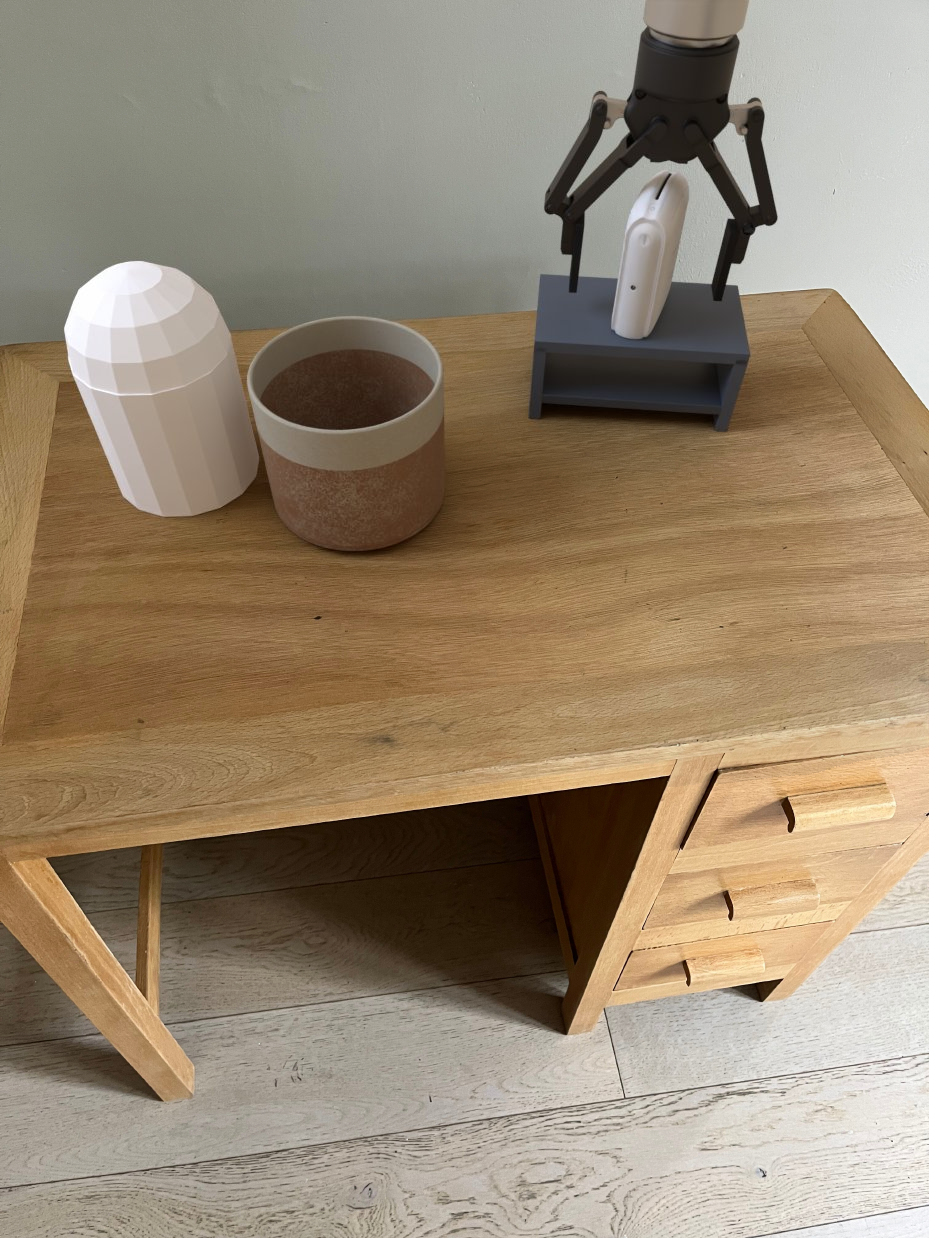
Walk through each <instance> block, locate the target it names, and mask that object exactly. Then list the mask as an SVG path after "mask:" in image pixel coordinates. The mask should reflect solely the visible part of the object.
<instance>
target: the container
mask: <svg viewBox="0 0 929 1238" xmlns="http://www.w3.org/2000/svg"><path fill="white" fill-rule="evenodd" d="M63 331H64V337H65V344H66V350H67V361H68V364H69V366H70V367H69V368H70V370H71V374H72V378H73V379H74V381H75V384H76V387H77V389H78V391H79V393H80V396H81V399H82V401H83V403H84V406H85V408H86V411H87V413H88V416H89V418H90V421H91V422H92V425H93V427H94V430H95V433H96V435H97V437H98V440H99V443H100V445H101V447H102V449H103V451H104V455H105V456H106V459H107V461H108V464H109V466H110V469H111V471H112V473H113V476H114V479H115V481H116V483H117V486H118V488H119V491H120V493H121V495H122V497H123V498H124V499H125V500H127V502H129V503H130V504H131V505H132V506H134V507H135V508H136V509H137V510H139V511H142V512H145V513H149V514H151V515H155V516H159V517H163V518H166V517H167V518H169V517H194V516H198V515H200V514H205V513H208V512H210V511H215V510H218V509H221V508H222V507H224V506H225V505H227V504H229V503H230V502H233V501H234V500H235V499H237V498H238V497H240V496H241V495H243V494H244V493H245V492H246V491H247V489H248V488H249V486H250V485H251V484H252V483H253V481H254V480H255V479H256V478H257V474H258V469H259V462H260V456H259V450H258V446H257V443H256V438H255V432H254V429H253V425H252V421H251V417H250V416H251V415H250V412H249V408H248V404H247V400H246V395H245V391H244V386H243V382H242V378H241V374H240V370H239V369H240V368H239V366H238V361H237V357H236V354H235V348H234V344H233V340H232V333H231V332H230V330H229V327H228V326H227V323H226V322H225V319H224V317H223V315H222V314H221V311H220V309H219V307H218V305H217V303H216V302H215V299H214V296H213V295H212V294H211V293H210V292H208V291H207V290H206V289H205V288H203V287H202V285H200V284H199V283H198V282H196V281H195V280H194V279H193V278H191V276H189V275H187V274H186V273H184V272H183V271H182V270H180V269H178V268H177V267H176V268H175V267H170V266H166V265H162V264H157V263H152V262H148V261H143V260H137V261H136V260H132V261H131V260H130V261H129V260H128V261H125V262H120V263H116V264H114V265H111V266H109V267H107V268H105V269H103V270H102V271H100V272H99V273H98V274H96V275H95V276H93V277H92V278H91V279H90V280H89V281H87V282H86V283H85V284H83V285H82V286H81V287H80V288H79V289H78V290H77V292H76V294H75V297H74V298H73V301H72V304H71V307H70V309H69V312H68V316H67V319H66V322H65V324H64V327H63Z"/></svg>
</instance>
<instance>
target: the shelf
mask: <svg viewBox="0 0 929 1238" xmlns="http://www.w3.org/2000/svg"><path fill="white" fill-rule="evenodd" d="M569 277H570V275H563V274H549V273H548V274H547V273H545V274H544V273H540V274H539V282H538V284H539V285H538V292H537V293H538V294H537V305H536V306H537V307H536V319H535V331H534V339H533V340H534V342H533V355H532V367H531V379H530V390H529V391H530V393H529V405H528V419H535V420H536V419H537V420H540V419H541V414H542V404H554V405H568V406H581V407H598V408H613V409H626V410H627V409H629V410H643V411H644V410H645V411H657V412H658V411H659V412H672V413H673V412H674V413H689V414H701V415H703V414H705V415H712V418H713V424H714V425H713V426H714V431H715V432H728V429H729V426H730V422H731V419H732V416H733V413H734V410H735V407H736V404H737V401H738V396H739V393H740V390H741V388H742V387H741V386H742V385H743V384H742V383H743V380H744V378H745V374H746V371H747V367H748V364H749V361H750V358H751V349H750V344H749V338H748V333H747V329H746V323H745V318H744V311H743V307H742V306H743V305H742V301H741V296H740V290H739V285H737V284H726V286H725V290H724V294H723V298H722V301H713V294H712V288H711V284H712V283H705V282H704V283H702V282H701V283H700V282H685V281H672V282H671V286H670V290H669V293H668V295H667V298H666V301H665V304H664V306H663V308H662V311H661V313H660V315H659V317H658V320H657V322H656V324H655V326H654V328H653V329H652V331H651V333H650V334H649V335H648V336H647V337H643V338H642V339H628V338H624V337H622V336H619V335H618V334H616V333H615V330H612V328H611V323H612V314H613V308H614V302H615V296H616V289H617V283H618V277H616V278H615V277H599V276H581V275H579V277H578V286H577V293H569Z"/></svg>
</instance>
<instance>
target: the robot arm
mask: <svg viewBox="0 0 929 1238" xmlns="http://www.w3.org/2000/svg"><path fill="white" fill-rule="evenodd" d="M749 3H750V0H645V2H644V9H643V15H642V21H643V22H644V24H645V25H646V27H645V28H644V30H642V31H641V33H640V36H639V43H638V49H637V57H636V58H637V59H636V63H635V64H636V65H635V71H634V77H633V86H632V90H631V92H630V94H629V95H628V97H627V99H620V98H613V97H608V94H607V93H606V91H603V90H598V91H596V92H595V93H594V94H593V97H592V100H591V104H590V109H589V114H588V119H587V120H586V122H585V124H584V126H583V128H582V129H581V131H580V132H579V135H578V136H577V138H576V140H575V141H574V143H573V145H572V147H571V148H570V150H569V152H568V153H567V154H566V157H565V159H564V160H563V162H562V164H561V165H560V167H559V169H558V171H557V173H556V174H555V176H554V177H553V179H552V181H551V183H550V185H548V187H547V190H546V191H545V194H544V203H543V211H544V212H545V214H547V215H549V216H550V215H551V216H552V215H555V216H558V217H559V218H560V219H561V221H562V226H561V236H560V252H561V254H562V255H563V256H564V255H565V256H571V259H570V268H569V276H570V277H569V293H577V286H578V277H579V276H580V268H581V258H582V252H583V251H582V250H583V244H584V243H583V241H584V233H585V226H586V225H585V223H586V219H585V218H586V211H587V210H588V209H589V208H590V207H591V206H592V205H593V204H594V203H595V202H596V201H597V200H598V199H600V197H601V196H602V195H603V194H604V193H605V192H606V191H607V190H608V189H609V188H610V187H611V186H612V185H613V184H614V183H615V182H616V181H617V180H618V179H619V178H620V177H621V176H622V175H623V174H624V173H625V172H626V171H627V170H629V169H631V168H633V167H634V166H635V165H636V164H637V163H638V162H639V161H640V160H641V159H642V158H646V159H647V160H649V162H650V163H656V164H657V163H658V164H660V163H664V162H665V163H666V162H672V163H675V164H680V165H688V163H689V162H691V161H693V160H695V159H696V158H697V159H698V160H699V162H700V164H701V165H702V167H703V169H704V170H705V172H706V173H707V174H708V176H709V177H710V179H711V181H712V182H713V184H714V186H715V187H716V190H717V191H718V193H719V195H720V196H721V198H722V199H723V201H724V203H725V205H726V207H727V208H728V210H729V212H730V214H731V215H732V217H733V218H727V220H726V224H725V228H724V232H723V236H722V239H721V244H720V248H719V252H718V256H717V261H716V265H715V267H714V272H713V277H712V280H711V283H710V284H711V288H712V294H713V301H722V298H723V294H724V290H725V286H726V285H727V282H728V278H729V274H730V272H731V271H730V270H731V267H732V265H741V264H742V263H743V261H744V260H745V257H746V255H747V254H746V253H747V250H748V246H749V242H750V239H751V236H753V235H754V233H755V232H756V228H758V227H762V226H764V225H765V226H766V227H771V226H773V225H776V223H777V221H778V212H777V207H776V202H775V196H774V193H773V187H772V183H771V178H770V174H769V168H768V163H767V158H766V154H765V150H764V145H763V140H762V137H763V132H764V125H765V118H766V113H765V110H764V107H763V103H762V100H761V99H760V98H759V97H756V96H755V97H751V98H749V99H748V100H747V102H746V103H737V104H729V94H730V89H731V85H732V80H733V75H734V71H735V67H736V62H737V57H738V53H739V49H740V45H741V41H740V39H739V38H738V35H737V34H738V33H739V32H740V31H741V30H743V29H744V26H745V22H746V18H747V13H748V8H749ZM618 119H623V121H624V123H625V125H626V127H627V129H628V130H629V131H628V133H626V135H624V136H623V137H622V139H621V140H620V142H619V144H617V146H616V147H615V148H614V149H613V150H612V151H611V152H610V153H609V154H608V156H607V157H605V159H604V160H603V161H601V163H599V165H597V167H596V168H594V170H593V171H591V173H590V174H589V175H588V176H587V177H586V178H585V179H584V180H583V181H582V182H581V183H580V184H579V185H578V187H577V188H575V189H574V190H573V191H572V193H571V194H569V196H568V193H569V192H570V190H571V188H572V187H573V185H574V184H575V182H576V180H577V178H578V177H579V175H580V173H581V172H582V170H583V169H584V167H585V165H586V163H587V162H588V160H589V158H590V157H591V156H592V153H593V152H594V150H596V149H595V148H596V147H597V145H598V143H599V142H600V139H601V138H602V135H603V132H604V130H610V129H612V127H613V126H614V124H615V122H616V121H617V120H618ZM729 123H730V124H733V125H734V127H735V131H736V134H737V135H739V136H741V137H743V138H744V143H745V148H746V152H747V156H748V160H749V166H750V171H751V174H752V179H753V183H754V187H755V192H756V197H757V201H758V204H756V205H753V206H752V205H751V206H750V203H749V202H748V200H747V198H746V197H745V195H744V193H743V192H742V190H741V188H740V186H739V184H738V183H737V181H736V179H735V177H734V175H733V174H732V172H731V171H730V169H729V167H728V165H727V163H726V161H725V159H724V158H723V156H722V154H721V152H720V151H719V148H718V146H717V143H716V142H715V139H716V138H717V137H718V136H719V135H720V133H722V132H723V130H724V129H725V128H726V127H727V126H728V125H729Z"/></svg>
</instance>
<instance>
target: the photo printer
mask: <svg viewBox="0 0 929 1238" xmlns="http://www.w3.org/2000/svg"><path fill="white" fill-rule="evenodd" d="M689 200H690V187H689V182H688V181H687V179H686V177H685V175H684V174H683V173H682V172H680V171H671V170H669V169H663V170H660V171H659V172H657V173H655V174H654V175H653V176H651V178H650V179H649V180H648V181H647V182H646V183H645V184H644V185H643V188H642V189H641V190H640V192H639V194H638V195H637V197H636V199H635V202H634V203H633V206H632V208H631V210H630V213H629V215H628V219H627V223H626V227H625V232H624V237H623V238H624V239H623V243H622V244H623V245H622V251H621V256H620V257H621V258H620V264H619V271H618V277H617V278H618V283H617V289H616V296H615V302H614V308H613V314H612V323H611V328H612V330H615V333H616V334H618V335H619V336H622V337H624V338H628V339H642V338H643V337H647V336H648V335H649V334H650V333H651V331H652V329H653V328H654V326H655V324H656V322H657V320H658V317H659V315H660V313H661V311H662V308H663V306H664V304H665V301H666V298H667V295H668V293H669V290H670V286H671V282H673V277H674V272H675V269H676V263H677V258H678V253H679V249H680V243H681V239H682V234H683V229H684V224H685V221H686V216H687V210H688V205H689Z"/></svg>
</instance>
